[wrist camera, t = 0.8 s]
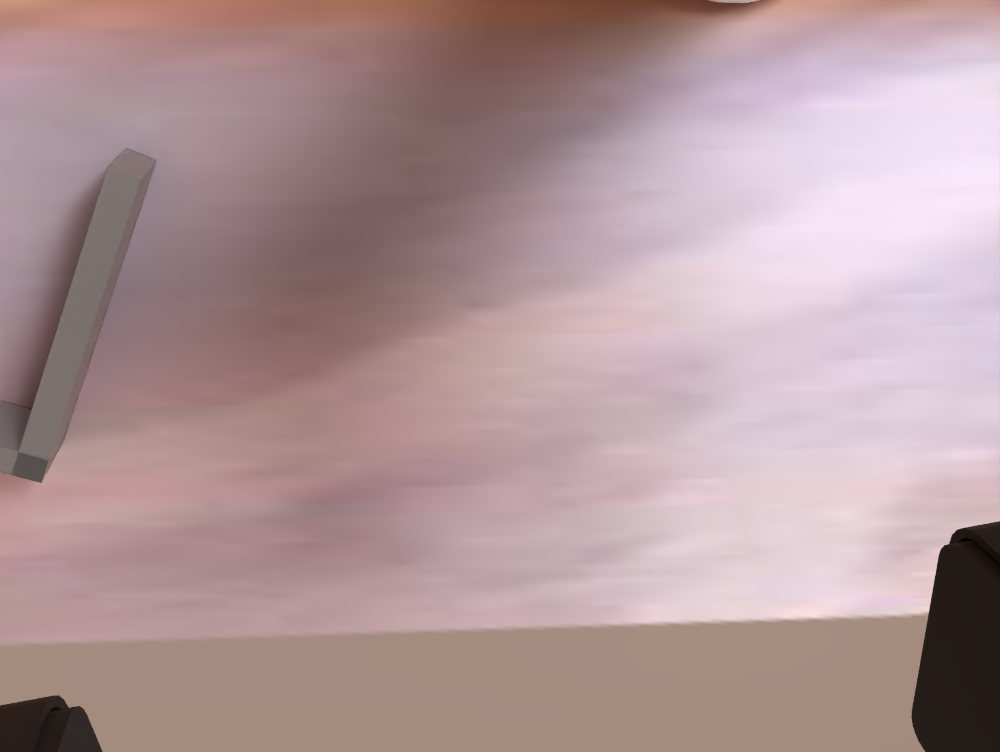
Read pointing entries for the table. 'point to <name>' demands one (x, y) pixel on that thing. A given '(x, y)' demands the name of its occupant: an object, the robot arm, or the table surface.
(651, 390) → the table surface
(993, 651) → the robot arm
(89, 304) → the frame
